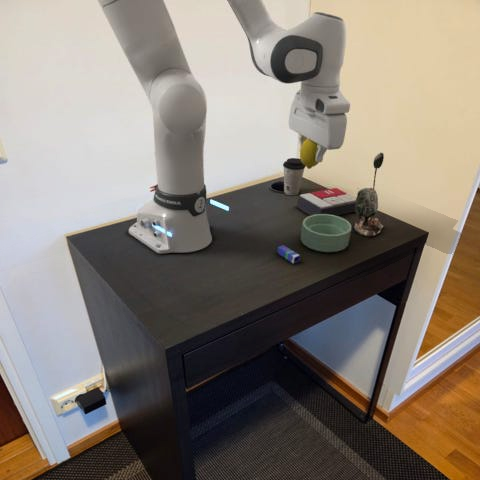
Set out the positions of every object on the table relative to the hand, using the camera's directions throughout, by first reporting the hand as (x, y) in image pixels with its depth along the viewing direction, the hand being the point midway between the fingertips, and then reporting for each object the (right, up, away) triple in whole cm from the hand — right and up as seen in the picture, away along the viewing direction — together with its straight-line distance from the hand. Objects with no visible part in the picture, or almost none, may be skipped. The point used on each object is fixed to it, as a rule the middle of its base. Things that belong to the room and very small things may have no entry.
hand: (310, 157), depth 112 cm
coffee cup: (-1, -1, +29) cm, 29 cm away
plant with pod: (+17, -17, +10) cm, 25 cm away
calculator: (+8, -8, +20) cm, 23 cm away
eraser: (-6, -26, -3) cm, 27 cm away
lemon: (0, -2, +2) cm, 3 cm away
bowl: (+4, -21, +3) cm, 22 cm away
